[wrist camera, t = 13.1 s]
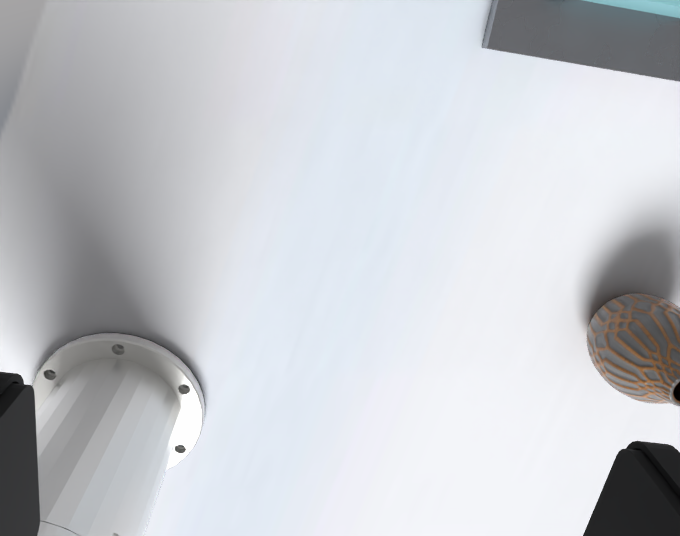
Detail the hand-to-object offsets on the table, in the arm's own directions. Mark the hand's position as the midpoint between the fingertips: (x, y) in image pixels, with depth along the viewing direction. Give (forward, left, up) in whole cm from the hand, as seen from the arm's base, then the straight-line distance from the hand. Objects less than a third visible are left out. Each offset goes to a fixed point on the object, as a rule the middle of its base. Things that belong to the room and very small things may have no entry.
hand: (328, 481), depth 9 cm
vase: (-10, -24, -30) cm, 40 cm away
